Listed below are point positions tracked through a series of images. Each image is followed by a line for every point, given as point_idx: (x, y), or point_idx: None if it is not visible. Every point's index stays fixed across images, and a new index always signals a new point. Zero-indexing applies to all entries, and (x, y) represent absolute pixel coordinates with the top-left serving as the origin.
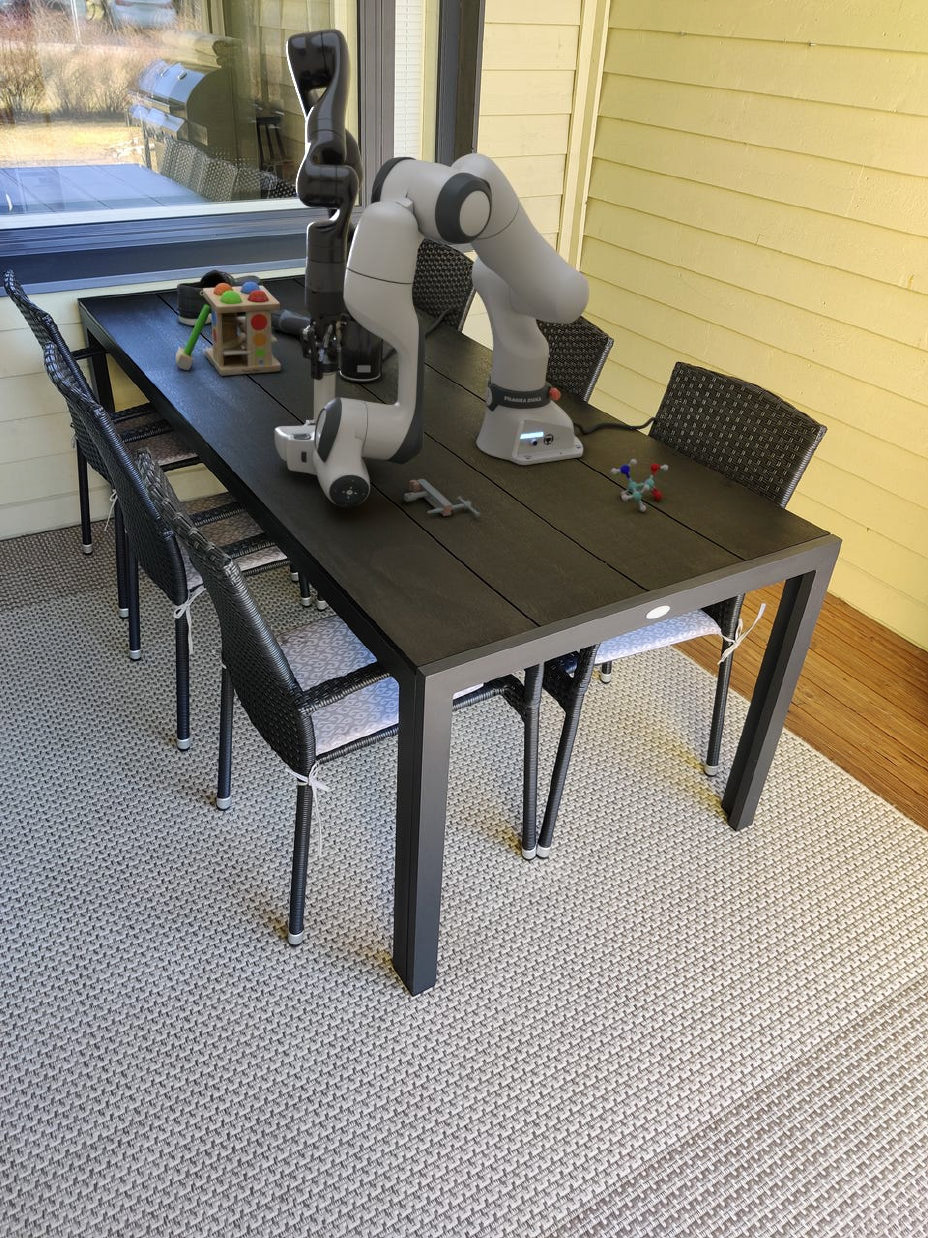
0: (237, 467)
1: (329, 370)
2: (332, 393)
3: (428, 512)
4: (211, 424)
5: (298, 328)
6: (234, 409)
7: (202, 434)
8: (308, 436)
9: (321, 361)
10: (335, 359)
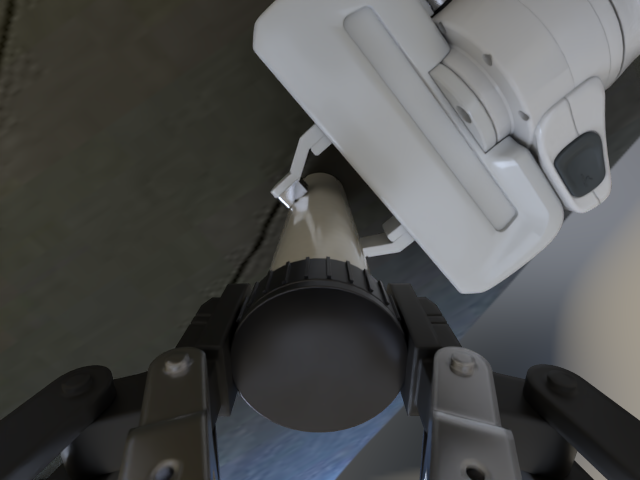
0: (481, 304)
1: (370, 278)
2: (328, 224)
3: None
4: (335, 436)
5: None
6: (251, 444)
7: (382, 424)
8: (581, 145)
9: (438, 346)
10: (276, 314)
